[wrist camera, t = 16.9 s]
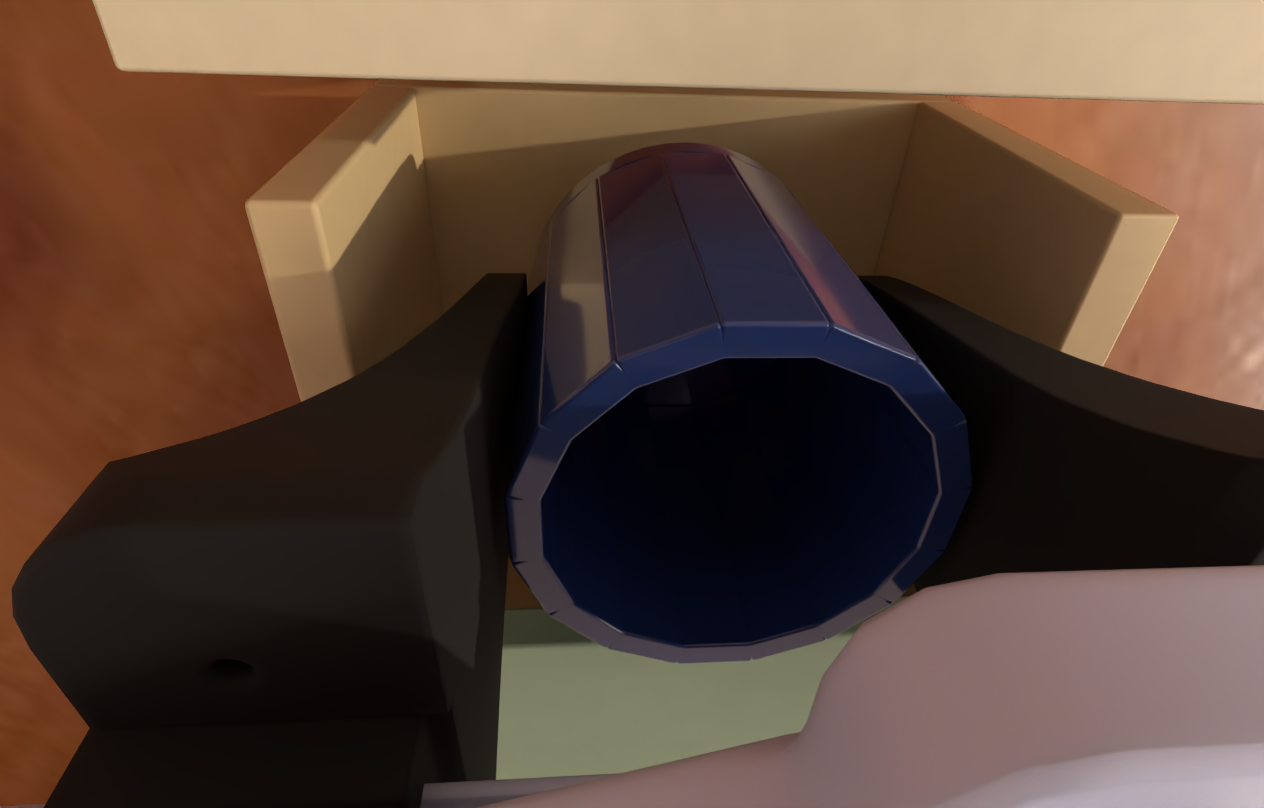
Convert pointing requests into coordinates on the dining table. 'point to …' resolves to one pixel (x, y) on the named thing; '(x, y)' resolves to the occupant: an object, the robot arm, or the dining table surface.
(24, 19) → the dining table surface
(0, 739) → the dining table surface
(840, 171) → the drawer
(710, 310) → the cup
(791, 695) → the cabinet
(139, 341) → the dining table surface
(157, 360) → the dining table surface
